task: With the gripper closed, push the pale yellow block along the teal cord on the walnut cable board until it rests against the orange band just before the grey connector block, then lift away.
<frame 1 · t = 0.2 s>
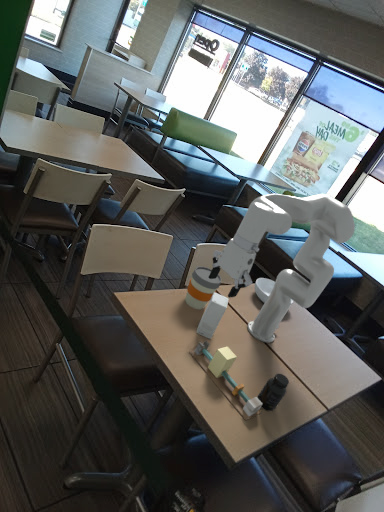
hand: (221, 287, 124), 30 cm above the table, fingers open, 9 cm apart
cable board: (223, 381, 132), on the table
supplement bottle: (265, 403, 130), on the table
reusable coffee cup: (194, 303, 168), on the table
serving bowl: (268, 301, 197), on the table
skincare box: (204, 330, 153), on the table
pale yellow block: (222, 362, 132), point 5 cm above the table, slide at -4.0 cm
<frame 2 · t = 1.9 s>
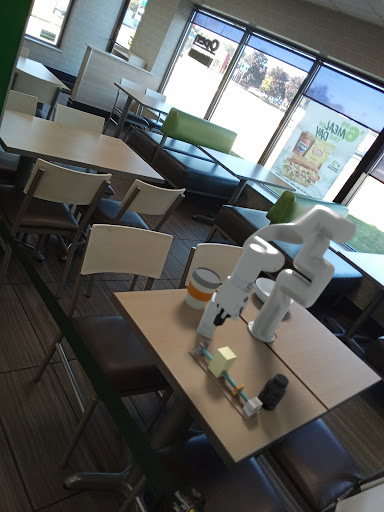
hand: (217, 324, 130), 16 cm above the table, fingers closed
nothing on the table moved.
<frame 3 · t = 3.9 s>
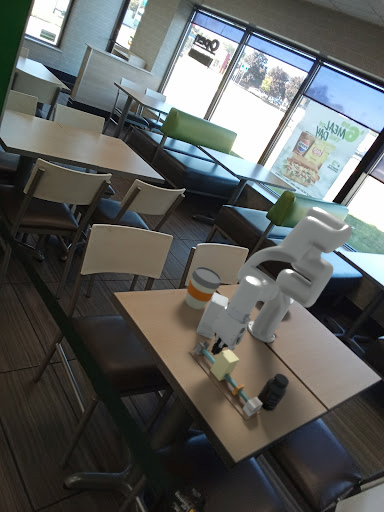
hand: (214, 352, 132), 7 cm above the table, fingers closed
pale yellow block: (224, 364, 131), point 5 cm above the table, slide at -2.6 cm, touching gripper
everything else where it was.
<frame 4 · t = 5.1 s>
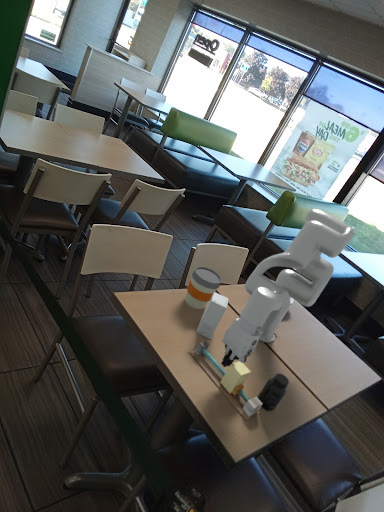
hand: (225, 364, 129), 7 cm above the table, fingers closed
pale yellow block: (235, 377, 128), point 5 cm above the table, slide at 2.9 cm, touching cable board, gripper
everything else where it was.
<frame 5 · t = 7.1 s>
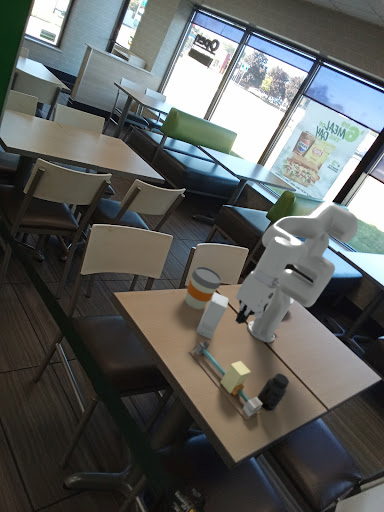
hand: (239, 321, 124), 22 cm above the table, fingers closed
pale yellow block: (235, 377, 128), point 5 cm above the table, slide at 2.9 cm, touching cable board
everything else where it was.
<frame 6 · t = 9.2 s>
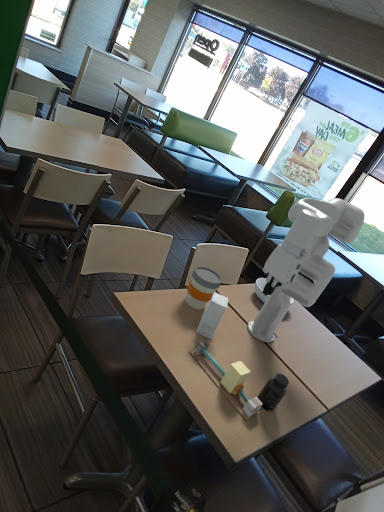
hand: (266, 293, 129), 31 cm above the table, fingers closed
nothing on the table moved.
at the end: pale yellow block slide at 2.9 cm; the gripper is holding nothing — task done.
